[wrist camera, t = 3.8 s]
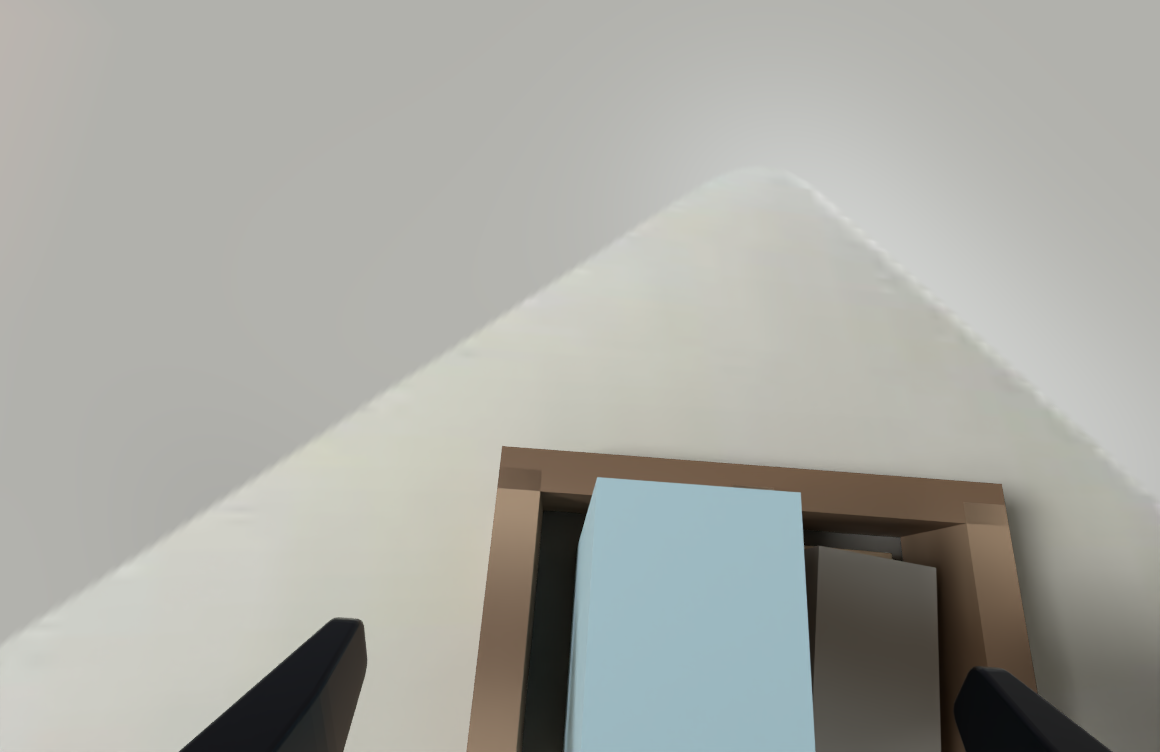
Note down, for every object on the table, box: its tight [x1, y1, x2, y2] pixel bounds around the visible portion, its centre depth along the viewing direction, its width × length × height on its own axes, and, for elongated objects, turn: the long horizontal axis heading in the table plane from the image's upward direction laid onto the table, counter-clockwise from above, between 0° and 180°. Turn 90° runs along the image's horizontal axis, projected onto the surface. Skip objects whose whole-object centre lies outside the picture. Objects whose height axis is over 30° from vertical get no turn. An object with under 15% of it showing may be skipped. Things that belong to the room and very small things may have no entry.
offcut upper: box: [804, 546, 941, 752], centre depth 15 cm, size 5×3×2 cm, turn 170°
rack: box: [467, 446, 1038, 752], centre depth 15 cm, size 8×12×3 cm
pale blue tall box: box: [563, 477, 815, 752], centre depth 11 cm, size 5×2×10 cm, turn 176°
